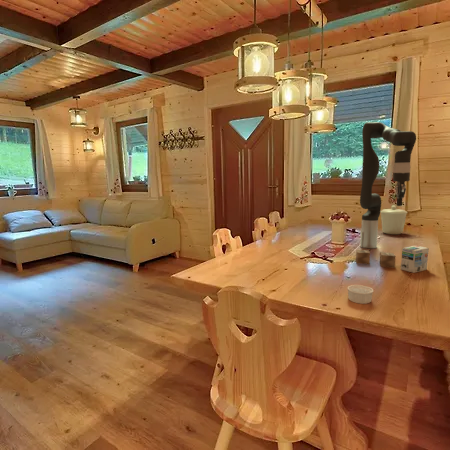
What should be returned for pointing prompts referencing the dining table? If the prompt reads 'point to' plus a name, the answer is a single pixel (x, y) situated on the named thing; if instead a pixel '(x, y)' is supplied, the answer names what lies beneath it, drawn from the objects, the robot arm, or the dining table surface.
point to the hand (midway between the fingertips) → (399, 205)
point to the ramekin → (360, 294)
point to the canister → (393, 220)
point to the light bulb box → (414, 258)
